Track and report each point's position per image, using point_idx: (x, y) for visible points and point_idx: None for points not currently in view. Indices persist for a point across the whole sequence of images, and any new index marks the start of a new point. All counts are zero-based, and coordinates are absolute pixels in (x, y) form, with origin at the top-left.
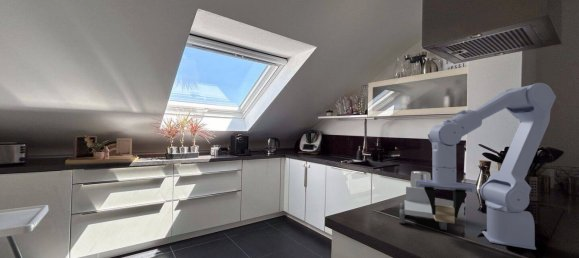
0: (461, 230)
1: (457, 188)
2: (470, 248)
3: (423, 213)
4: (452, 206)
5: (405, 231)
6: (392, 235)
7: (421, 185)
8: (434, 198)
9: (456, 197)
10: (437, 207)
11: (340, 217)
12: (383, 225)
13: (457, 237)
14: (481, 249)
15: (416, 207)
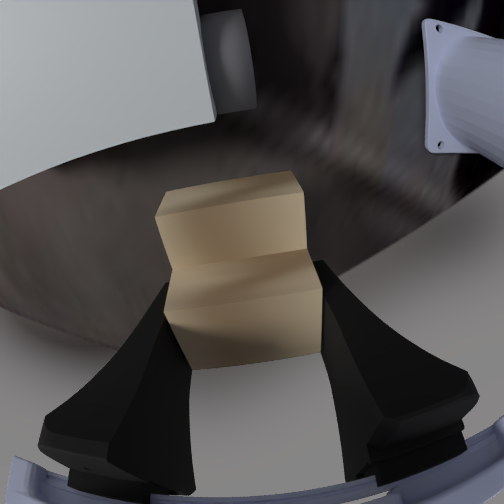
0: (331, 19)
1: (391, 492)
2: (334, 250)
3: (92, 150)
4: (320, 292)
5: (82, 227)
6: (74, 293)
7: (69, 494)
8: (187, 440)
9: (344, 450)
10: (205, 364)
11: None
12: (5, 219)
13: (302, 149)
14: (370, 236)
15: (23, 62)
